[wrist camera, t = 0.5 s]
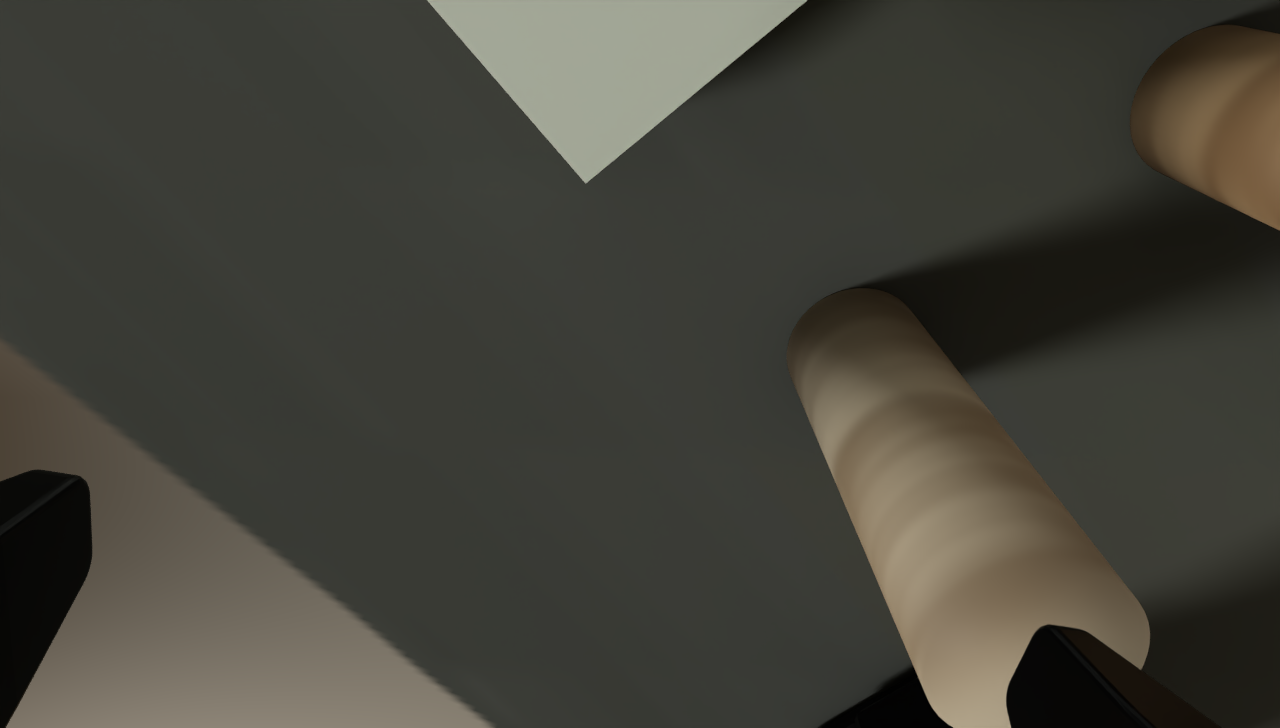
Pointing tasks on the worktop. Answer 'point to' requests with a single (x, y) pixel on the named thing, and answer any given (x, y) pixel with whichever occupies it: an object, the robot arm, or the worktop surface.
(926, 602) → the long dowel
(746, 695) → the worktop surface
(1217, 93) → the short dowel
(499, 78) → the hole block
